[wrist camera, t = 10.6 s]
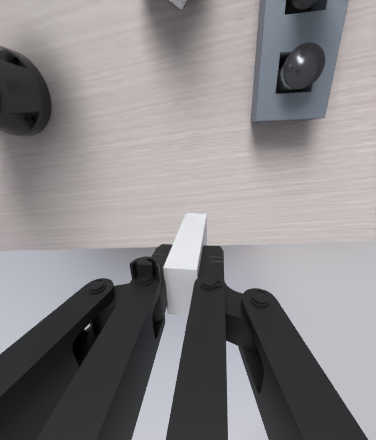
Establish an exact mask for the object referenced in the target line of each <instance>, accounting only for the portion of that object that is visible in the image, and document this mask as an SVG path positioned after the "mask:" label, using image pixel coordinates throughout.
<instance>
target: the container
mask: <svg viewBox="0 0 376 440" xmlns="http://www.w3.org/2000/svg"><path fill="white" fill-rule="evenodd" d="M169 1H170V2H172V3H173V4H174V5H176V6H177V7H178V8H179V9H181V10H182V9H183V8H184V5H185V3H186V1H187V0H169Z"/></svg>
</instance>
